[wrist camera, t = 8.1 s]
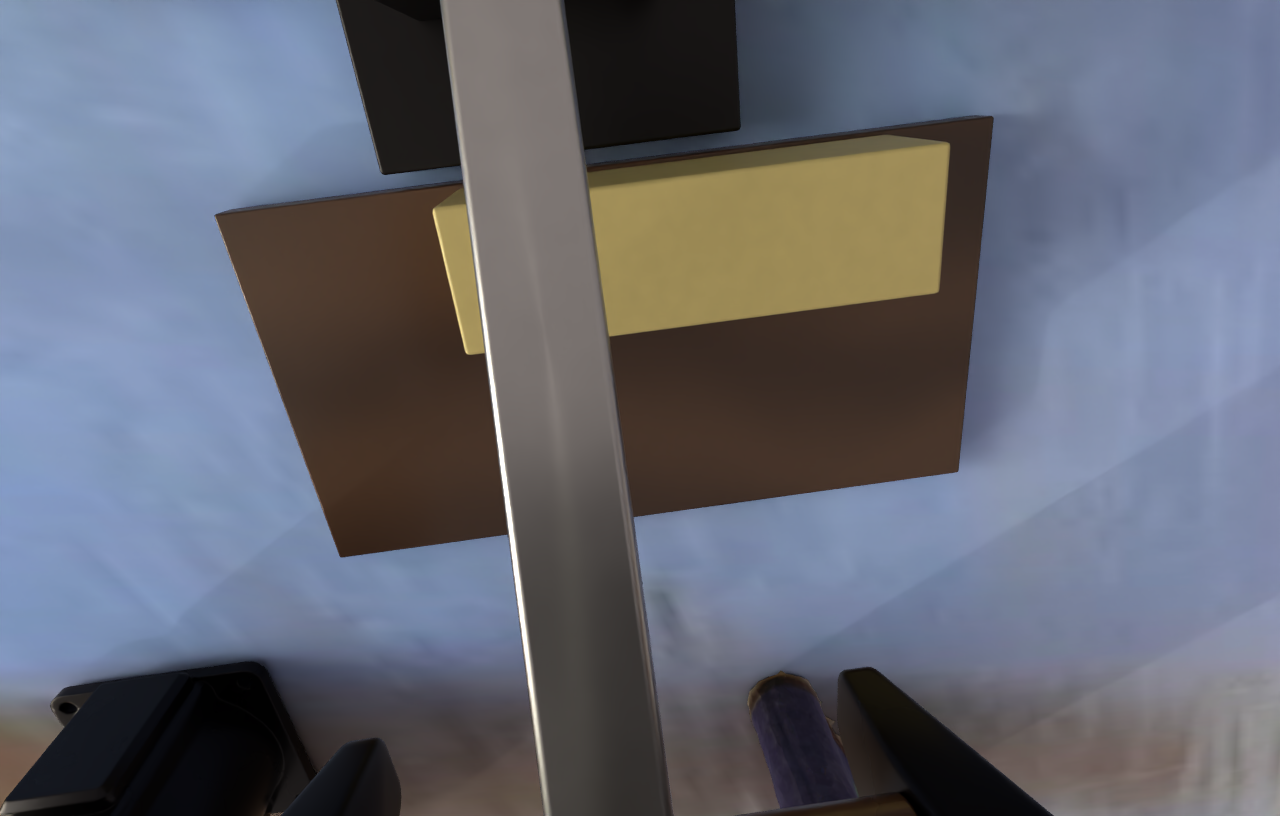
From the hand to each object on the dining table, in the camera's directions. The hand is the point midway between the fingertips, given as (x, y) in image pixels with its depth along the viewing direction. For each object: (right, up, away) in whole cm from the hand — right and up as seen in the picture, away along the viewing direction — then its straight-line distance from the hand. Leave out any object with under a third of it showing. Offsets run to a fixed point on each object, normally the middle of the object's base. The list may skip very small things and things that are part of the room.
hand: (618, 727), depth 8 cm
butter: (+1, +8, +8) cm, 11 cm away
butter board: (0, +5, +10) cm, 11 cm away
